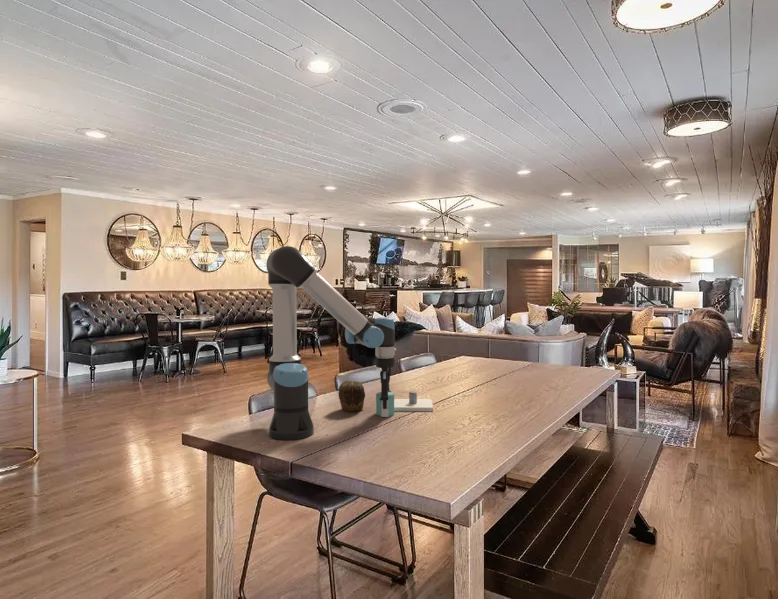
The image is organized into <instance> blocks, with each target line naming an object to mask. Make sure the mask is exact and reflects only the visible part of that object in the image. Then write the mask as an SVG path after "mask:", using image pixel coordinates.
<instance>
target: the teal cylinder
mask: <svg viewBox="0 0 778 599" xmlns="http://www.w3.org/2000/svg"><path fill="white" fill-rule="evenodd" d="M383 397H386V396H383ZM380 398H381V391H379V392H376V393H375V407H376V408H375V415H376V416H379V417H381V400H380ZM394 399H395V393H394V392H392V391H391V392H388V410H389V417H391V416H394V415H395V411H394Z"/></svg>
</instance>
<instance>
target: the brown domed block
mask: <svg viewBox="0 0 778 599" xmlns="http://www.w3.org/2000/svg"><path fill="white" fill-rule="evenodd" d="M365 398H366V392H365V387H364V385H363V384H362V383H361V382H360V381H357V380H344V381H343V382H341V384H340V385H339V387H338V399H339V402H340V407H341V409H342V411H343V412H346V411H347V412H348V413H356V412H357V411H358V412H362V411H363V409H364V404H365V403H364V402H365ZM347 412H346V413H347Z"/></svg>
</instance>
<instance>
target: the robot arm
mask: <svg viewBox="0 0 778 599" xmlns="http://www.w3.org/2000/svg"><path fill="white" fill-rule="evenodd" d="M266 269H267V270H266V271H267V274H268V275H267V277H268V278H267V280H268V286H269V287H270V288H271V289H272V355H271V356H270V357H269V358H268V373H267V377H266V378H267V384H268V386H269V388H270V389H271V391H273V414H272V418H271V420H270V424H269V427H268V435H269V437H270V438H271V439H272V438H273V439H276V440H280V441H281V440H282V441H284V440H285V441H287V440H288V441H290V440H291V441H295V440H300V439H305V438H308V437H310V436H312V435H314V432H315V428H314V423H313V420H312V417H311V414H310V412H309V372H308V370H309V369H308V368H307V366H305V364H302V358H301V357H300V355H298V352H297V351H298V350H297V347H298V344H297V342H298V339H297V337H298V336H297V335H298V334H297V333H298V330H297V328H298V327H297V324H298V323H297V320H298V319H297V316H298V315H297V289H302V290H303V291H304V292H305V293H306V294H307V295H309V296H310V297H311V298H312V299H313V300H314V301H315V302H317V304H319V305H320V307H322V308H323V309H324V310H326V312H327V313H328V314H330V315H331V316H332V317H333V318H335V320H337V321H338V322H339V323H340V324H341V325H342V326H343V327H344V328H345V329H344V337H345V338H344V339H345V341H346V343H347V344H350V345H352V344H353V345H355V344H360V345H362V346H365V347H367V348H368V349H369V348H370V349H374V348H375V354H374V355H375V357H376V358H375V367H376V368H378V369H381V371H380V372H379V377H380V383H381V387H380V390H381V391H380V392H381V398H380V400H381V416H380V417H381V418H389V417H390V416H389V410H388V392H392V390H391V389H390V380H391V371H390V368H395V366H396V363H395V362H396V361H395V358H396V357H394V356H395V352H396V351H397V348H395V335H396V334H395V332H396V329H395V328H396V327H395V320H394V318H392V317H376V318H375V319H374V320H375V321H374V322H373V323H372V322H371V321H369V320H368V318H367V317H366V316H364V315H363V314H362V313H361V312H360V311H359V310H358V309H357V308H356V307H355V306H354V305H353V304H351V303H350V302H349V301H348V299H346V298H345V297H344V296H343V295H342V294H341V293H340V292H339V291H338V290H337V289H336V288H334V287H333V285H331V284H330V283H329V282H328V281H327V280H326V279H325V278H324V277H323V276H322V275H320V274H319V273H318V272H317V270H318V268H317V267H316V266H315V265H314V264H313V263H312V262H311V261H310V260H309V259H308V257H306V255H304V253H303V252H301V250H299V249H298V248H296V247H294V246H289V245H286V246H285V245H284V246H281V247H279V248H277V249H274V250H273V251H271V253H270V254H269V255H268V258H267V260H266ZM383 396H386V397H383Z"/></svg>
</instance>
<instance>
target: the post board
mask: <svg viewBox="0 0 778 599" xmlns="http://www.w3.org/2000/svg"><path fill="white" fill-rule="evenodd" d="M417 393H418V392H417V391H409V392H408V394H409V395H408V398H394V412H433V411H434V405H433V400H432V398H417V396H418V394H417Z"/></svg>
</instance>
